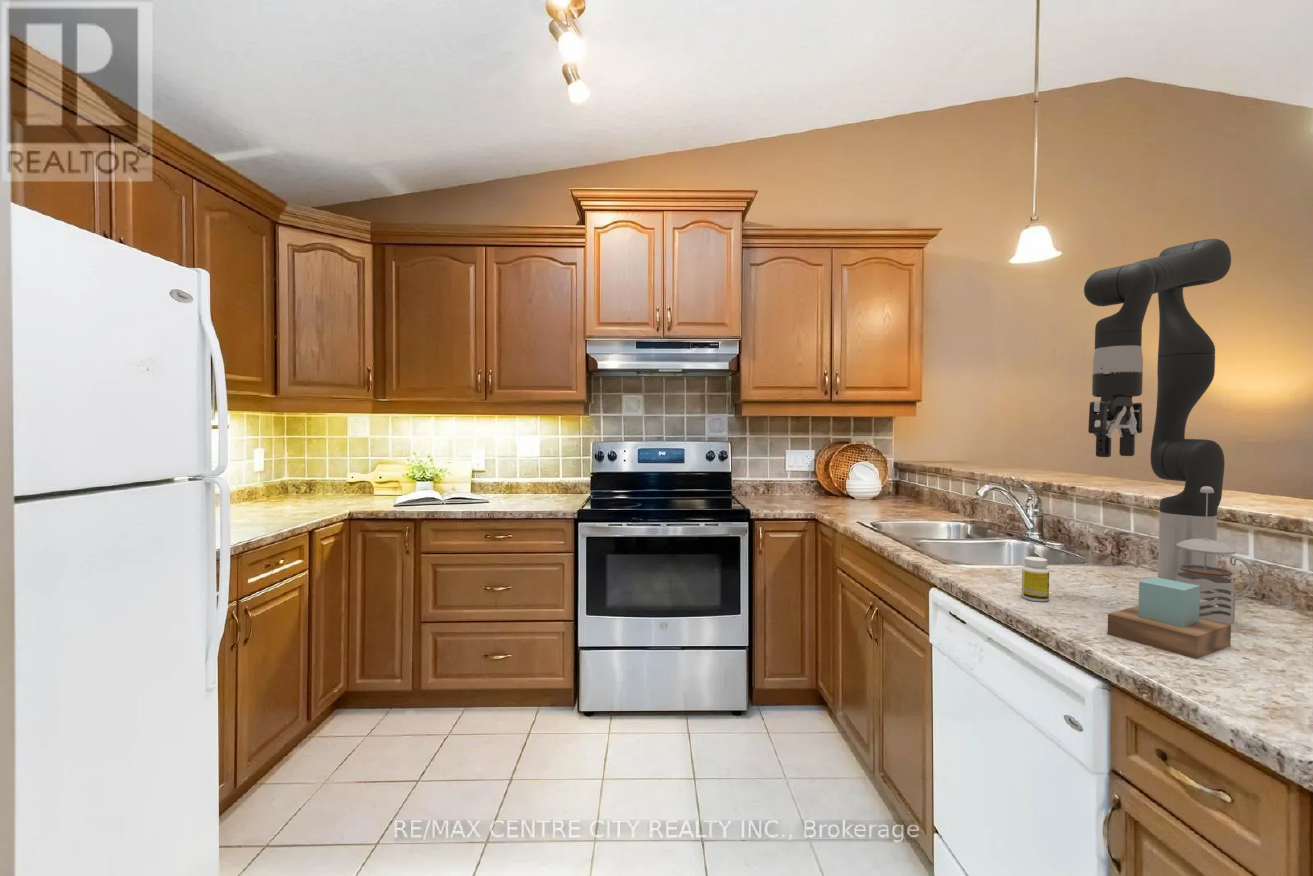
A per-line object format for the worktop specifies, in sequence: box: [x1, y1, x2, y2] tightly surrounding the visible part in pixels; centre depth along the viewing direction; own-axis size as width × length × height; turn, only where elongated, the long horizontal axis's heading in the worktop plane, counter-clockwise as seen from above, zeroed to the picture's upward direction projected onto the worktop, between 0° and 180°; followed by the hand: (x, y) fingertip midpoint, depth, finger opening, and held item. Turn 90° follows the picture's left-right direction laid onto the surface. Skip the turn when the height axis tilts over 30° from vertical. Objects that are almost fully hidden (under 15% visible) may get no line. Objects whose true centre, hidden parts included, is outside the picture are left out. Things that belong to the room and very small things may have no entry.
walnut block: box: [1106, 605, 1232, 660], centre depth 98 cm, size 12×12×4 cm
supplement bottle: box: [1021, 556, 1050, 603], centre depth 121 cm, size 5×5×8 cm
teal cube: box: [1137, 576, 1201, 627], centre depth 98 cm, size 6×6×6 cm
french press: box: [1176, 486, 1257, 632], centre depth 107 cm, size 10×12×25 cm
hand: (1115, 456), depth 112 cm, fingers open, 8 cm apart
